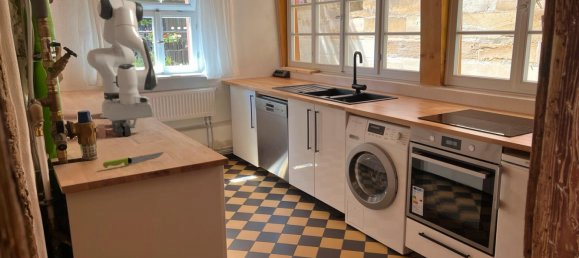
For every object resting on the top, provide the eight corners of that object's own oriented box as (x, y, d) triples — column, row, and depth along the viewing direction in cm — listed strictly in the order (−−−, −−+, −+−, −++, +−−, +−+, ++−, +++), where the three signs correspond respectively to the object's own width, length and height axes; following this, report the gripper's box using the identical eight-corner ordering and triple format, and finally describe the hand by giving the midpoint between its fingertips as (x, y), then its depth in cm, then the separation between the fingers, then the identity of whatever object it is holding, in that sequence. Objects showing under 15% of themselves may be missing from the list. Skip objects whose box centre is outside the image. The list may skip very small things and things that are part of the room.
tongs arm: (122, 130, 214) (121, 122, 213) (127, 129, 215) (126, 121, 214) (125, 136, 201) (124, 127, 200) (130, 135, 202) (130, 127, 201)
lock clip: (98, 133, 208) (97, 124, 207) (105, 133, 209) (104, 124, 208) (98, 138, 199) (97, 128, 198) (105, 137, 201) (104, 127, 200)
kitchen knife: (163, 158, 167) (163, 151, 166) (165, 159, 166) (164, 151, 165) (103, 170, 154) (102, 162, 153) (104, 171, 153) (103, 162, 152)
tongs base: (112, 129, 216) (111, 118, 215) (129, 127, 220) (128, 117, 218) (114, 137, 199) (113, 126, 198) (132, 135, 203) (131, 124, 201)
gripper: (105, 102, 196) (108, 131, 199) (152, 98, 204) (154, 127, 207) (105, 100, 201) (108, 129, 204) (150, 96, 210) (153, 124, 213)
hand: (132, 128), depth 206 cm, fingers closed
